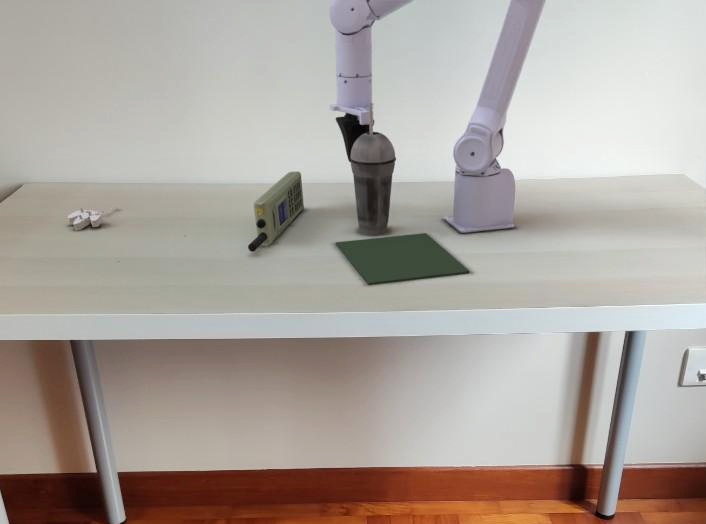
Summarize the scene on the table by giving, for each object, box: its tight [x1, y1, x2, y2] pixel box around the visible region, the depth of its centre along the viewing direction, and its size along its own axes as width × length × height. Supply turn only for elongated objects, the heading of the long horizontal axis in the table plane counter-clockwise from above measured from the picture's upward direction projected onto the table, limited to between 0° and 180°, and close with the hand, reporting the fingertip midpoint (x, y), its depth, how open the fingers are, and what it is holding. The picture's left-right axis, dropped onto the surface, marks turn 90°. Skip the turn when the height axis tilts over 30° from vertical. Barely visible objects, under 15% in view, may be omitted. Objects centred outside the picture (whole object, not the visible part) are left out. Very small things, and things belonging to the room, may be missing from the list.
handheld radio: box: [247, 170, 305, 253], centre depth 131 cm, size 7×3×25 cm
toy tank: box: [67, 207, 118, 231], centre depth 138 cm, size 6×12×3 cm, turn 179°
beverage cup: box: [349, 102, 397, 236], centre depth 127 cm, size 7×7×20 cm
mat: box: [335, 232, 470, 286], centre depth 121 cm, size 15×18×1 cm
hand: (355, 161), depth 136 cm, fingers closed
